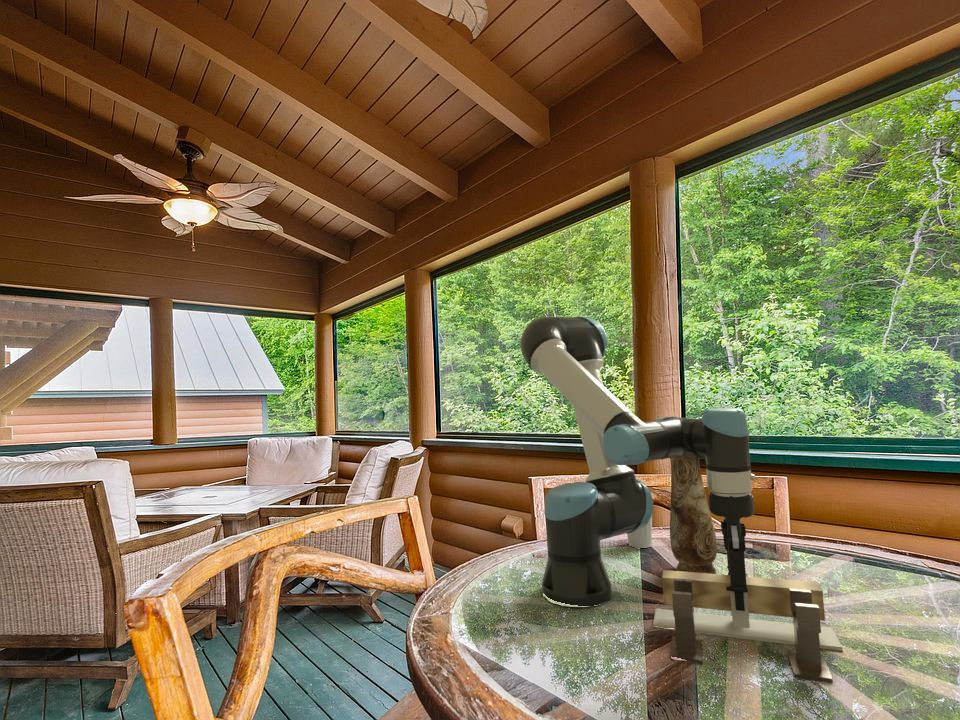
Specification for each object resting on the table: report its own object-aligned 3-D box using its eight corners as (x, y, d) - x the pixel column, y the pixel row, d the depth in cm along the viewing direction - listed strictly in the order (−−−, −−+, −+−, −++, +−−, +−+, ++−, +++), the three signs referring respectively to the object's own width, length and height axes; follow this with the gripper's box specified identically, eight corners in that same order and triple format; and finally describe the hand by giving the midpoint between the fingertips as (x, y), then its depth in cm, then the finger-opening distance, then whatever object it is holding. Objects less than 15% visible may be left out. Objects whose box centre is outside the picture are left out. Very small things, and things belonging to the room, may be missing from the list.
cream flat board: (653, 627, 98) (653, 624, 98) (656, 611, 105) (655, 608, 105) (842, 650, 87) (842, 647, 87) (832, 631, 93) (832, 627, 93)
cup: (640, 552, 139) (636, 506, 140) (619, 544, 147) (616, 501, 147) (661, 546, 143) (658, 501, 144) (640, 538, 150) (637, 496, 151)
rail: (664, 604, 99) (662, 577, 99) (665, 595, 103) (663, 569, 103) (825, 620, 89) (822, 591, 89) (820, 610, 93) (817, 582, 93)
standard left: (670, 659, 87) (665, 592, 88) (672, 639, 94) (667, 577, 94) (702, 664, 85) (697, 595, 86) (702, 643, 92) (697, 580, 92)
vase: (721, 580, 118) (711, 447, 119) (671, 577, 121) (662, 447, 122) (716, 563, 128) (707, 441, 129) (670, 561, 131) (661, 441, 132)
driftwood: (783, 558, 131) (782, 549, 131) (774, 566, 126) (773, 557, 126) (700, 544, 145) (700, 536, 146) (690, 550, 141) (689, 542, 141)
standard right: (794, 677, 80) (788, 604, 81) (787, 654, 87) (782, 587, 87) (832, 682, 78) (826, 608, 79) (822, 659, 85) (817, 590, 85)
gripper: (757, 504, 87) (769, 646, 86) (748, 483, 103) (758, 603, 102) (709, 502, 90) (719, 640, 89) (707, 482, 106) (716, 599, 105)
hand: (740, 620), depth 96 cm, fingers closed on rail, 4 cm apart
